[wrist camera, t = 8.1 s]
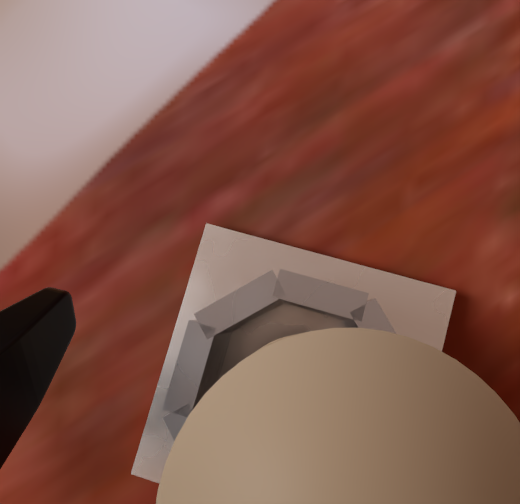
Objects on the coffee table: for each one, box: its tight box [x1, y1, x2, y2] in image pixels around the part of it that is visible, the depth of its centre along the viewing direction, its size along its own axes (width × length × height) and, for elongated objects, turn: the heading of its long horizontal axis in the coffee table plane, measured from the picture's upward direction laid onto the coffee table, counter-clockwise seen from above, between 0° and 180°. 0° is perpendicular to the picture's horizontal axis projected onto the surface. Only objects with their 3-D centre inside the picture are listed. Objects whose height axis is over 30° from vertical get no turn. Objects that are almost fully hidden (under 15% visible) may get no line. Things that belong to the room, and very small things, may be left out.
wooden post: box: [156, 328, 520, 504], centre depth 10 cm, size 3×3×13 cm
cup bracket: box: [131, 223, 456, 483], centre depth 15 cm, size 9×9×4 cm
